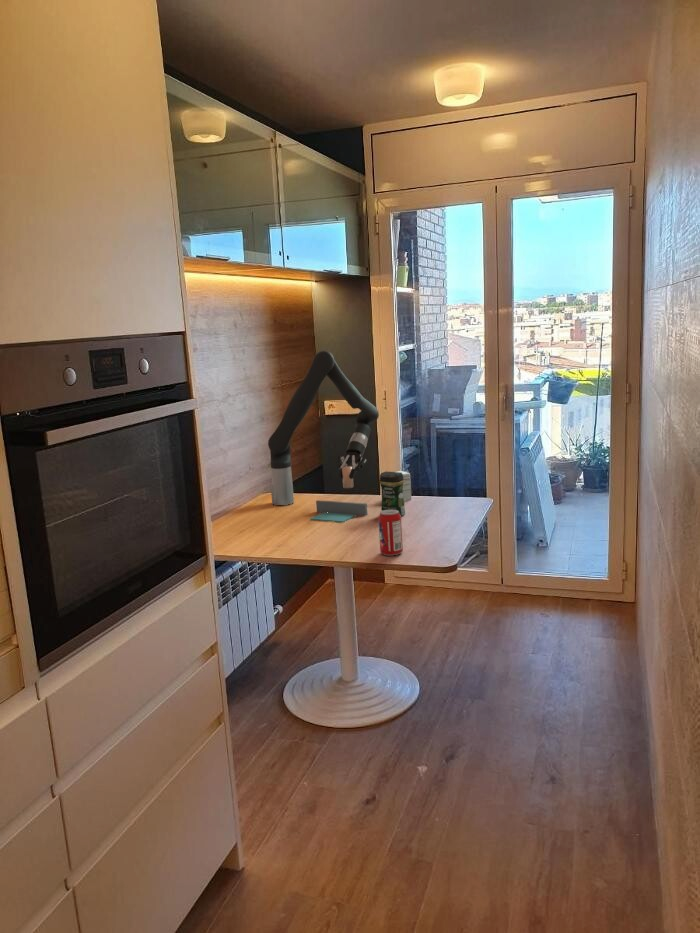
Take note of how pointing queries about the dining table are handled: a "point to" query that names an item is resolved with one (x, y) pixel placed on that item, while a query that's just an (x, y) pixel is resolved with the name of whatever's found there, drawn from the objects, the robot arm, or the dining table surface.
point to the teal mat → (333, 517)
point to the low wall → (342, 507)
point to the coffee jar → (392, 491)
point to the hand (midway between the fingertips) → (345, 477)
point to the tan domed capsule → (347, 477)
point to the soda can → (390, 532)
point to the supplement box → (406, 486)
